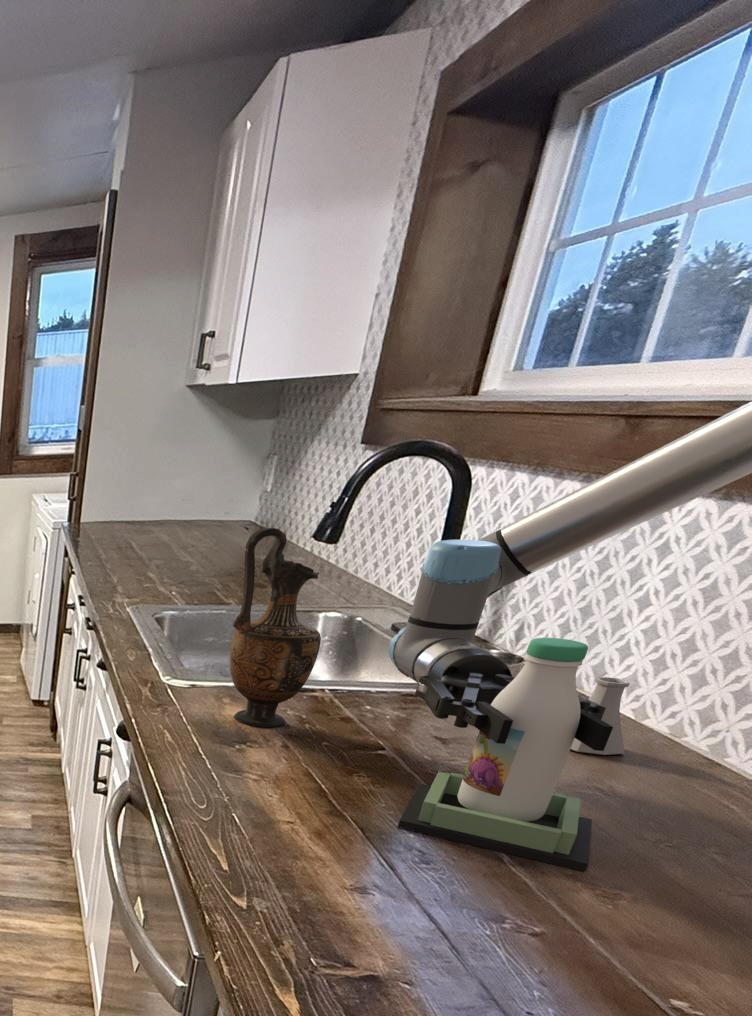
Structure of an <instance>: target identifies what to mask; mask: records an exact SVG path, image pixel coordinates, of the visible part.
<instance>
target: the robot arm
mask: <svg viewBox="0 0 752 1016" xmlns="http://www.w3.org/2000/svg"><path fill="white" fill-rule="evenodd" d="M751 474H752V401H749V402H747V403H746V404H743V405H741V406H740V407H738V408H736V409H734V410H732V411H730V412H728V413H725V414H724V415H722V416H719V417H718V418H716V419H714V420H712V421H710V422H708V423H706V424H704V425H702V426H700V427H699V428H696V429H694V430H692V431H691V432H689V433H686V434H684V435H683V436H680V437H678V438H677V439H674V440H673V441H671V442H668V443H667V444H665V445H663V446H661V447H659V448H657V449H655V450H653V451H651V452H649V453H647V454H645V455H643V456H641V457H639V458H637V459H635V460H633V461H631V462H629V463H627V464H625V465H623V466H621V467H619V468H617V469H616V470H615V469H614V471H611V472H610V473H607V474H605V475H604V476H602V477H600V478H597V479H596V480H594V481H592V482H589V483H588V484H586V485H584V486H581V487H580V488H578V489H576V490H574V491H572V492H570V493H568V494H566V495H564V496H562V497H560V498H558V499H556V500H554V501H552V502H550V503H548V504H546V505H545V506H543V507H540V508H539V509H537V510H534V511H533V512H530V513H529V514H527V515H525V516H523V517H520V518H518V519H517V520H515V521H512V522H511V523H509V524H507V525H505V526H503V527H501V528H499V529H498V530H495V531H493V532H491V533H489V534H487V535H485V536H483V537H481V538H479V539H477V540H475V539H446V540H444V539H443V540H438V541H436V542H434V543H433V544H431V546H430V547H429V550H428V552H427V556H426V558H425V561H424V563H423V564H422V566H421V573H420V578H419V582H418V586H417V589H416V592H415V596H414V599H413V604H412V607H411V611H410V615H409V616H408V619H407V622H406V625H405V626H404V627H403V628H401V629H400V630H399V631H398V632H397V633H395V635H394V636H393V637H392V639H390V640H391V641H390V643H389V646H388V656H389V660H390V661H391V663H392V664H394V666H395V667H396V668H397V671H399V672H400V673H401V674H402V675H403V676H405V677H406V678H410V679H411V680H413V681H414V682H416V683H417V685H416V689H415V693H414V696H416V697H418V698H420V699H422V700H423V701H424V703H425V704H426V706H427V707H428V708H429V710H430V712H432V714H433V715H434V717H436V718H437V719H441V720H444V719H449V716H451V717H452V716H453V717H455V720H454V724H453V726H454V727H457V728H461V729H462V728H463V729H466V728H468V727H469V726H471V727H474V728H476V729H477V730H478V731H481V732H482V733H484V734H485V735H486V736H488V737H489V738H490V739H492V740H493V741H494V742H495V743H500V744H505V742H506V740H507V737H508V734H509V731H510V728H511V726H512V723H513V720H512V719H510V718H509V717H507V716H506V715H504V714H503V713H501V712H500V711H499V710H497V709H496V708H494V707H493V706H491V703H492V702H493V700H494V699H495V698H496V696H497V695H498V694H499V693H500V692H501V691H502V690H503V689H504V688H505V687H506V686H507V685H508V684H510V683H511V682H512V681H513V680H514V679H515V677H513V675H512V672H511V669H510V667H509V666H508V664H507V663H506V662H505V661H503V660H502V659H501V658H499V657H497V656H496V655H493V654H492V653H490V652H489V651H488V650H486V649H484V648H481V647H480V646H478V645H476V644H474V643H473V642H474V640H475V635H476V632H477V630H478V626H479V625H480V619H481V617H482V614H483V611H484V609H485V606H486V603H487V600H488V597H489V596H490V595H491V594H492V593H493V592H496V591H497V590H499V589H501V588H504V587H506V586H508V585H510V584H513V583H514V582H517V581H519V580H522V579H524V578H526V577H528V576H529V575H531V574H533V573H535V572H538V571H540V570H542V569H544V568H546V567H548V566H551V565H553V564H555V563H558V562H560V561H562V560H564V559H566V558H569V557H570V556H573V555H575V554H577V553H580V552H581V551H584V550H586V549H588V548H590V547H592V546H595V545H597V544H599V543H602V542H603V541H606V540H608V539H610V538H613V537H614V536H616V535H617V536H618V535H619V534H621V533H624V532H625V531H628V530H630V529H632V528H634V527H637V526H639V525H641V524H643V523H645V522H648V521H650V520H651V519H654V518H656V517H659V516H660V515H663V514H665V513H667V512H669V511H671V510H674V509H676V508H678V507H680V506H683V505H685V504H687V503H689V502H691V501H694V500H696V499H698V498H700V497H702V496H704V495H707V494H709V493H711V492H713V491H715V490H717V489H720V488H722V487H723V486H726V485H729V484H731V483H734V482H735V481H737V480H739V479H742V478H744V477H746V476H748V475H751ZM578 698H579V702H580V710H581V712H580V720H579V725H578V728H577V731H576V734H575V737H574V738H576V739H577V740H579V741H580V742H582V743H584V744H585V745H587V746H588V747H590V748H592V749H593V750H597V751H604V749H605V746H606V744H607V741H608V739H609V736H610V734H611V732H612V729H613V727H612V726H611V725H609V724H607V723H605V722H604V721H602V717H603V715H604V712H605V710H606V707H604V706H602V705H599V704H597V703H594V702H592V701H590V700H588V699H587V698H585V697H582V696H580V695H578ZM468 725H469V726H468Z"/></svg>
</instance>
